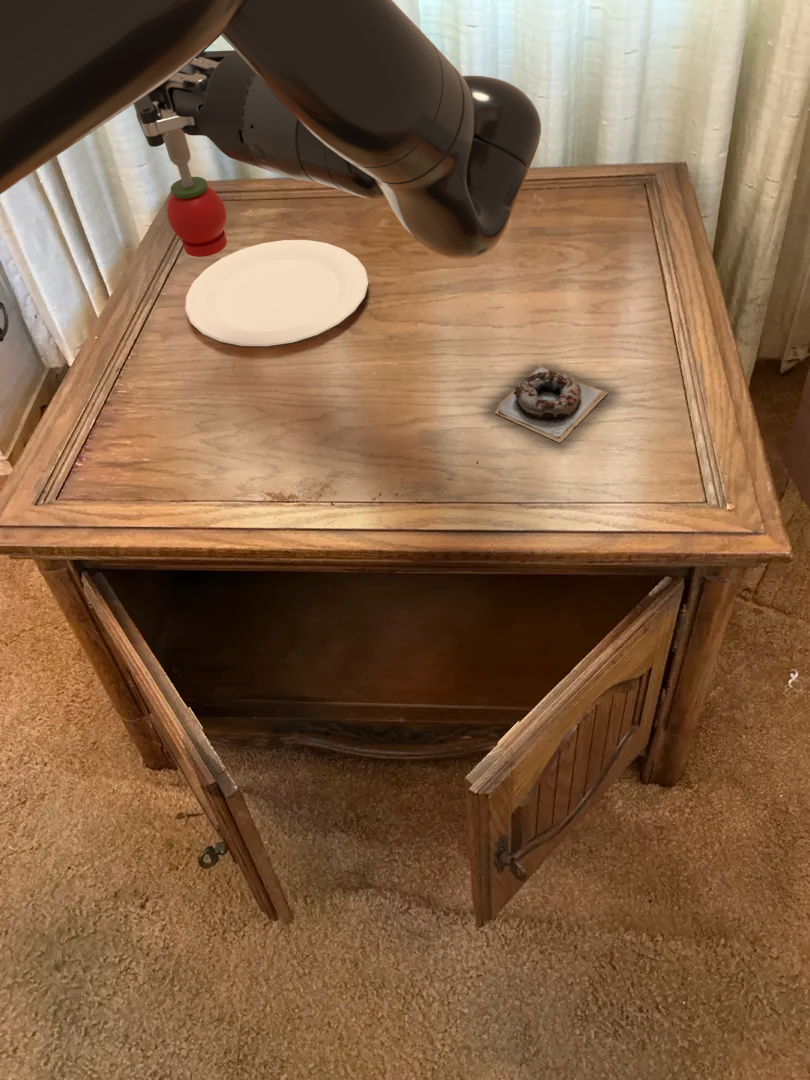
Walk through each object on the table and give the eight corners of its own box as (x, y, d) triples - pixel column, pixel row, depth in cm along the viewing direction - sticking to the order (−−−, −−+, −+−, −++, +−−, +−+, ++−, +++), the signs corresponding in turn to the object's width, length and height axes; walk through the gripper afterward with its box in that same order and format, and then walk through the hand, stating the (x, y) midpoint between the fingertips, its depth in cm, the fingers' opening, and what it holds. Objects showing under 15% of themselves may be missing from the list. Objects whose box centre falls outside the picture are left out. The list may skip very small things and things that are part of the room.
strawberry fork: (186, 266, 77) (125, 74, 64) (172, 241, 80) (111, 52, 67) (240, 249, 78) (190, 56, 65) (224, 225, 81) (174, 36, 69)
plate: (229, 245, 105) (226, 233, 104) (390, 256, 101) (389, 243, 99) (157, 348, 93) (152, 335, 91) (338, 366, 88) (335, 353, 87)
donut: (539, 366, 85) (540, 349, 84) (607, 394, 82) (609, 377, 80) (490, 412, 81) (490, 395, 80) (559, 443, 78) (561, 426, 76)
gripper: (340, 27, 62) (183, -5, 70) (201, 100, 55) (46, 55, 63) (353, 132, 67) (207, 91, 75) (229, 209, 61) (84, 155, 69)
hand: (134, 75), depth 69 cm, fingers closed on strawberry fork
